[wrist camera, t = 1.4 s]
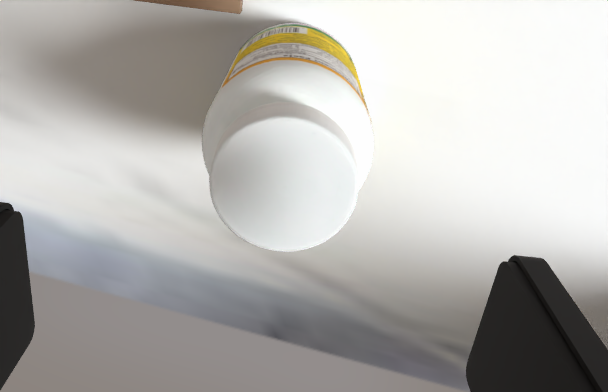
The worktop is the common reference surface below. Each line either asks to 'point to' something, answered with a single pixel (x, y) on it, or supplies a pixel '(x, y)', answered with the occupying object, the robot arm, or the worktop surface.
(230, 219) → the supplement bottle
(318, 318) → the worktop surface
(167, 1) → the board
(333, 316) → the worktop surface
